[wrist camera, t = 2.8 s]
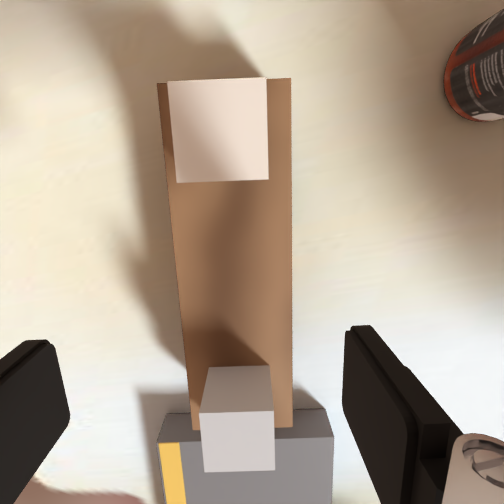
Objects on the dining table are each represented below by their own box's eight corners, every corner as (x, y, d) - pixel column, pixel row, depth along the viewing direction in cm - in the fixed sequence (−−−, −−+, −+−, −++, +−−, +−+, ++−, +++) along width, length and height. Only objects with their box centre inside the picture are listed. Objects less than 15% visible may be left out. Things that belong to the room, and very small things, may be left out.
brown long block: (281, 100, 21) (291, 78, 16) (285, 380, 26) (292, 427, 21) (178, 104, 21) (156, 83, 16) (203, 382, 26) (192, 430, 21)
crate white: (262, 100, 16) (266, 77, 12) (264, 178, 17) (268, 179, 13) (187, 103, 16) (166, 81, 12) (193, 180, 17) (176, 182, 13)
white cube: (269, 365, 20) (273, 410, 16) (270, 415, 21) (275, 470, 17) (208, 367, 20) (198, 413, 16) (213, 417, 21) (204, 472, 17)
